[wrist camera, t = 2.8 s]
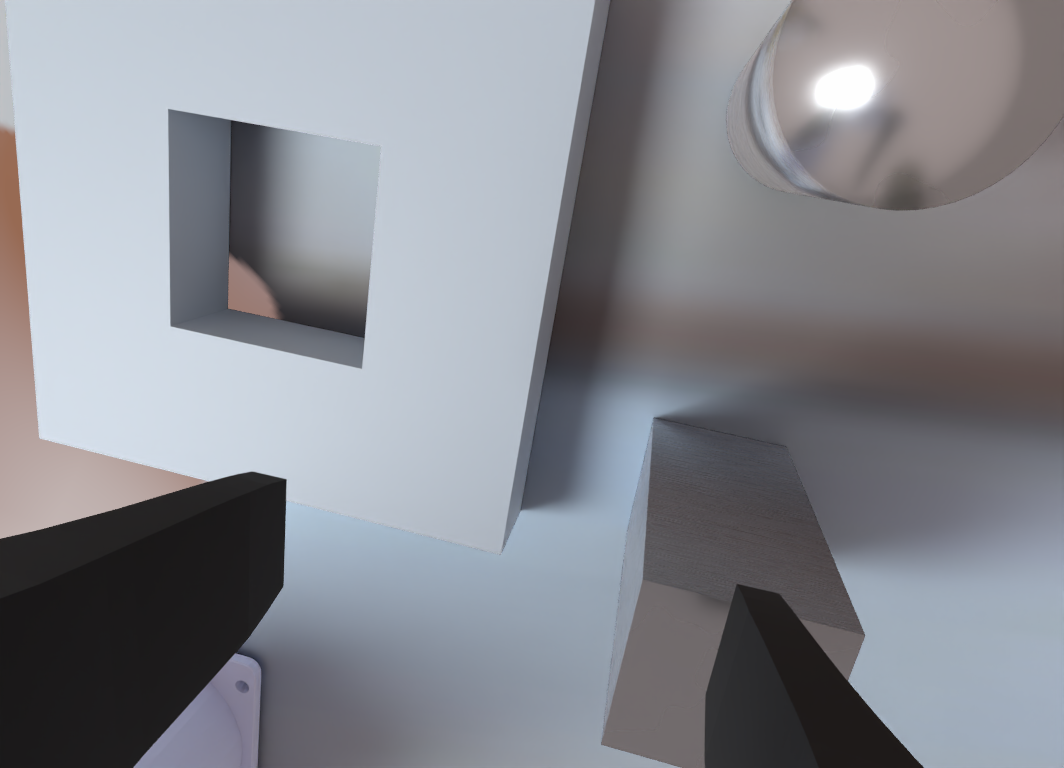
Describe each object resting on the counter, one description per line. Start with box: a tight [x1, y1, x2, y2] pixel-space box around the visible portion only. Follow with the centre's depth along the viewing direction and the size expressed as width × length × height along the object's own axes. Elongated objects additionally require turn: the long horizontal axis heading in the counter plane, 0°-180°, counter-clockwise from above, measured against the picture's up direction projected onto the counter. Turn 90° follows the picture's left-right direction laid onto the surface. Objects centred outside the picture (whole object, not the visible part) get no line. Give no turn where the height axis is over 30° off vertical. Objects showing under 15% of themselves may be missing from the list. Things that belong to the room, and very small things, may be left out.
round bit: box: [726, 0, 1064, 210], centre depth 12 cm, size 4×4×8 cm
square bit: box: [601, 418, 865, 768], centre depth 16 cm, size 4×4×8 cm
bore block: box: [5, 0, 610, 555], centre depth 18 cm, size 14×14×2 cm
